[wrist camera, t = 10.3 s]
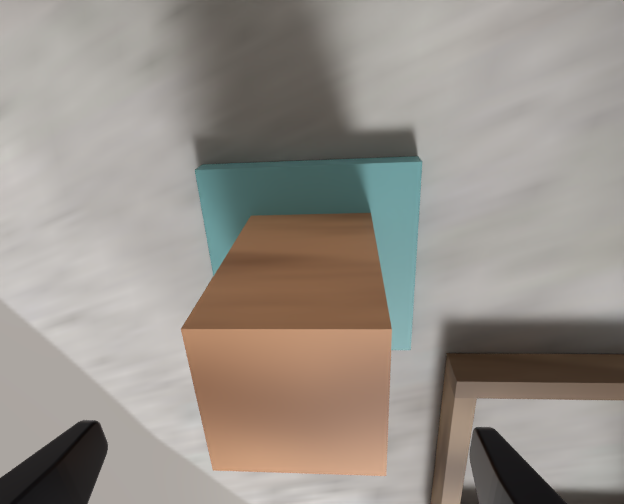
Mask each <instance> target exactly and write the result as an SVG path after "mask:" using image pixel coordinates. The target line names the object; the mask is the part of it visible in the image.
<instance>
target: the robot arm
mask: <svg viewBox="0 0 624 504" xmlns="http://www.w3.org/2000/svg"><path fill="white" fill-rule="evenodd" d="M107 450H108V444H107V440H106V438H105V435H104V432H103V430H102V427H101V425H100V423H99V422H98V421H95V420H94V421H93V420H83V421H80V422H78V423H76V424H75V425H74V426H72V427H71V428H70V429H68V430H67V431H65V432H64V433H62V434H61V435H60V436H58V437H57V438H56V439H54V440H53V441H51V442H50V443H49V444H47V445H46V446H44V447H43V448H42V449H40V450H39V451H37V452H36V453H35V454H33V455H32V456H30V457H29V458H28V459H26V460H25V461H23V462H22V463H21V464H19V465H18V466H16V467H15V468H14V469H12V470H11V471H10V472H8V473H7V474H5V475H4V476H2V477H1V478H0V504H88V501H89V498H90V496H91V493H92V491H93V488H94V486H95V483H96V480H97V478H98V475H99V472H100V470H101V467H102V465H103V462H104V459H105V457H106V454H107ZM470 463H471V468H472V472H473V477H474V481H475V486H476V491H477V495H478V500H479V504H567V503H566V502H565V501H564V500H563V499H562V498H561V497H560V496H559V495H558V494H557V493H556V492H555V491H554V490H553V489H552V488H551V487H550V486H549V485H548V484H547V483H546V482H545V481H544V479H543V478H542V477H541V476H540V475H539V474H538V473H537V472H536V471H535V470H534V469H533V468H532V467H531V466H530V465H529V464H528V463H527V462H526V461H525V460H524V459H523V458H522V457H521V456H520V455H519V454H518V453H517V452H516V451H515V450H514V449H513V447H512V446H511V445H510V444H509V443H508V442H507V441H506V440H505V439H504V438H503V437H502V436H501V435H500V434H499V433H498V432H497V431H496V430H495V429H493V428H490V427H476V428H474V430H473V434H472V441H471V447H470Z"/></svg>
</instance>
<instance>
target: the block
mask: <svg viewBox="0 0 624 504" xmlns="http://www.w3.org/2000/svg"><path fill="white" fill-rule="evenodd" d="M181 332H182V336H183V340H184V345H185V349H186V354H187V358H188V362H189V367H190V371H191V376H192V380H193V384H194V389H195V393H196V398H197V402H198V406H199V411H200V415H201V420H202V424H203V428H204V433H205V437H206V442H207V446H208V450H209V455H210V459H211V464H212V468H213V470H218V471H248V472H279V473H310V474H340V475H371V476H386V467H387V441H388V416H389V390H390V365H391V340H392V327H391V322H390V316H389V310H388V305H387V299H386V294H385V288H384V283H383V277H382V271H381V266H380V260H379V255H378V249H377V244H376V238H375V233H374V227H373V221H372V216H371V213H342V214H300V215H258V216H250V218H249V219H248V221H247V223H246V224H245V226H244V228H243V229H242V231H241V232H240V234H239V236H238V237H237V239H236V241H235V242H234V244H233V245H232V247H231V249H230V250H229V252H228V254H227V255H226V257H225V258H224V260H223V262H222V263H221V265H220V267H219V268H218V270H217V271H216V273H215V275H214V276H213V278H212V280H211V281H210V283H209V284H208V286H207V288H206V289H205V291H204V292H203V294H202V296H201V297H200V299H199V301H198V302H197V304H196V305H195V307H194V309H193V310H192V312H191V314H190V315H189V317H188V318H187V320H186V322H185V323H184V325H183V327H182V328H181Z"/></svg>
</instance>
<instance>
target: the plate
mask: <svg viewBox="0 0 624 504" xmlns="http://www.w3.org/2000/svg"><path fill="white" fill-rule="evenodd" d="M195 174H196V180H197V185H198V191H199V197H200V202H201V208H202V214H203V219H204V225H205V231H206V236H207V242H208V248H209V253H210V259H211V265H212V270H213V276H214V275H215V273H216V271H217V270H218V268H219V267H220V265H221V263H222V262H223V260H224V258H225V257H226V255H227V254H228V252H229V250H230V249H231V247H232V245H233V244H234V242H235V241H236V239H237V237H238V236H239V234H240V232H241V231H242V229H243V228H244V226H245V224H246V223H247V221H248V219H249V218H250V216H258V215H300V214H342V213H371V216H372V221H373V227H374V233H375V238H376V244H377V249H378V255H379V260H380V266H381V271H382V277H383V283H384V288H385V294H386V299H387V305H388V310H389V316H390V322H391V327H392V340H391V350H411V336H412V320H413V303H414V287H415V271H416V255H417V239H418V222H419V206H420V190H421V174H422V161H421V159H420V158H419V157H418V156H411V157H384V158H358V159H332V160H306V161H279V162H253V163H227V164H203V165H201V166H200V167H198V168H197V169H195Z"/></svg>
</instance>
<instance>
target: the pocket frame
mask: <svg viewBox="0 0 624 504" xmlns="http://www.w3.org/2000/svg"><path fill="white" fill-rule="evenodd" d="M477 398H493V399H565V400H624V354H462V353H447V357H446V366H445V375H444V384H443V394H442V403H441V412H440V421H439V430H438V439H437V449H436V458H435V467H434V476H433V485H432V494H431V504H460V501H461V495H462V489H463V482H464V476H465V470H466V463H467V457H468V450H469V444H470V438H471V431H472V425H473V419H474V412H475V406H476V400H477Z"/></svg>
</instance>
